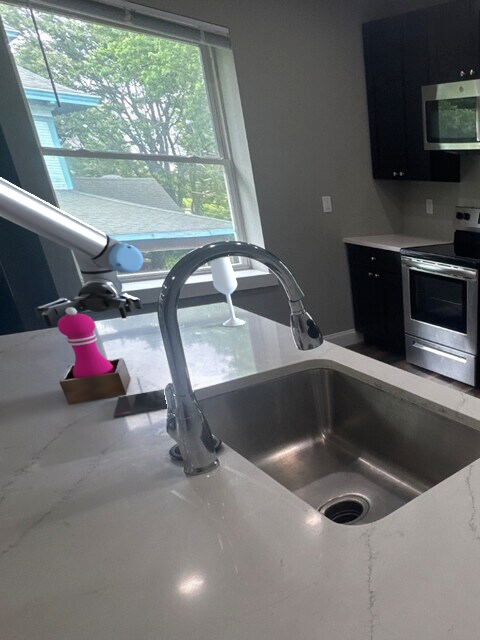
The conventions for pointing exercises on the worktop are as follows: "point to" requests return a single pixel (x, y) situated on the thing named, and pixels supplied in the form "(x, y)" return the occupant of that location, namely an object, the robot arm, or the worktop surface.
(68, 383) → the mill caddy
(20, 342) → the worktop surface
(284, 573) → the worktop surface
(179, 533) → the worktop surface
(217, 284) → the champagne flute
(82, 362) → the pepper mill
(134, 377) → the worktop surface
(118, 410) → the slate coaster
